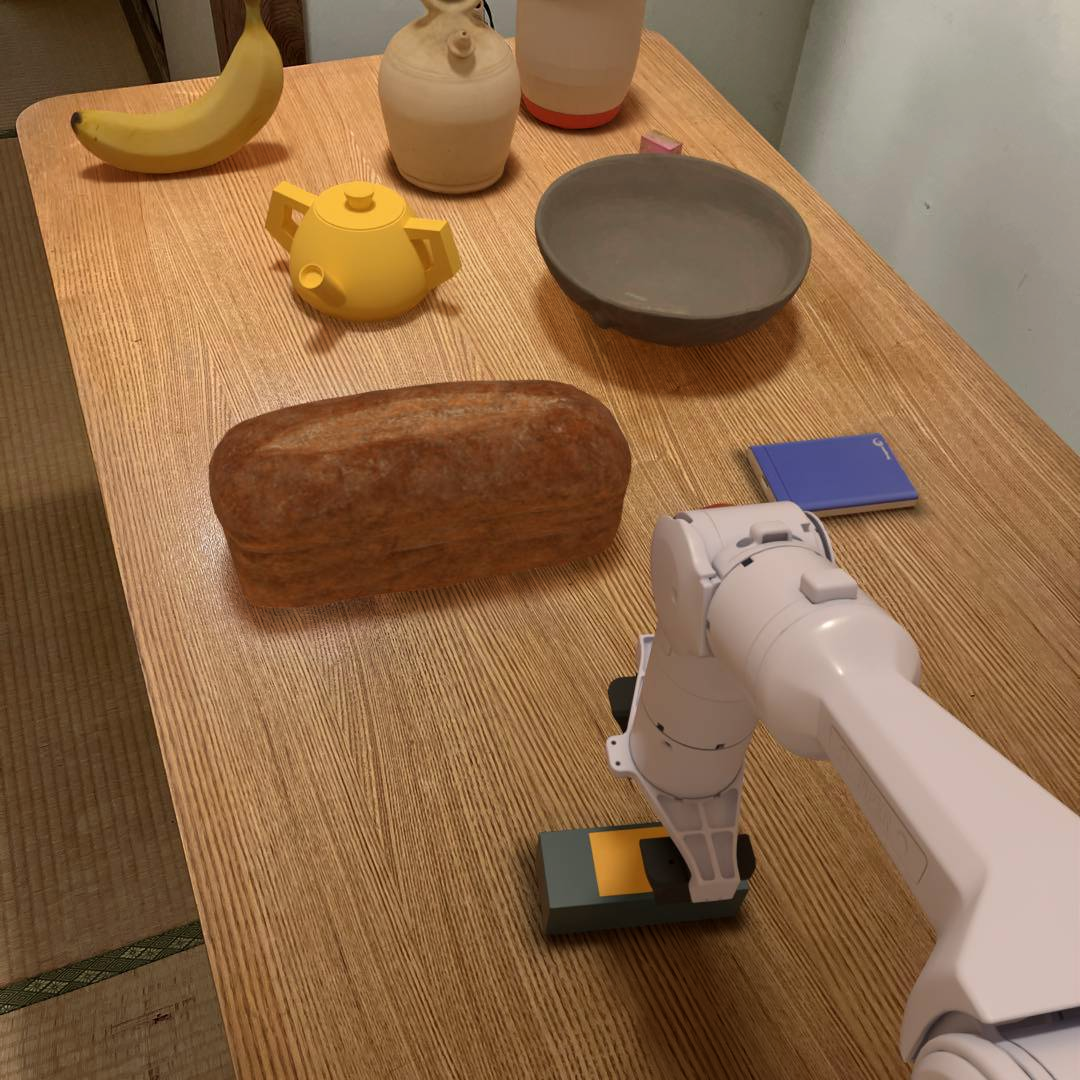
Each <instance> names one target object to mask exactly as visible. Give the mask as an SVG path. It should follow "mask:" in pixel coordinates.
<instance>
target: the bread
mask: <svg viewBox="0 0 1080 1080" xmlns="http://www.w3.org/2000/svg"><path fill="white" fill-rule="evenodd" d="M631 472H632V452H631V449H630V445H629V441H628V440H627V438H626V436H625V434H624V432H623V431H622V428H621V427H620V426H619V424H618V422H617V420H616V418H615V416H614V415H613V413H612V411H611V410H610V409H609V408H608V407H607V406H606V405H605V404H604V403H603V402H602V401H601V400H600V399H599V398H597V397H595V396H593V395H592V394H590V393H588V392H586V391H584V390H582V389H581V388H579V387H576V386H574V385H573V384H571V383H565V382H559V381H557V380H556V381H555V380H551V379H506V380H505V379H503V380H502V379H500V380H498V379H497V380H496V379H495V380H493V379H492V380H491V379H490V380H488V379H487V380H486V379H485V380H457V381H456V380H455V381H454V380H453V381H442V382H433V383H432V382H431V383H424V384H415V385H409V386H402V387H396V388H386V389H385V388H384V389H378V390H377V389H376V390H370V391H365V392H360V393H359V392H358V393H355V394H349V395H344V396H343V395H342V396H337V397H329V398H324V399H319V400H313V401H308V402H304V403H299V404H294V405H290V406H284V407H281V408H278V409H275V410H271V411H269V412H265V413H261V414H258V415H255V416H253V417H250V418H248V419H245V420H241V421H240V422H238V423H237V424H235V425H233V426H232V427H230V428H229V429H227V431H226V432H225V434H224V435H223V437H222V438H221V439H220V441H219V442H218V443H217V445H216V446H215V448H214V449H213V452H212V455H211V458H210V460H209V463H208V487H209V488H208V489H209V490H208V491H209V497H210V501H211V505H212V508H213V512H214V515H215V517H216V519H217V521H218V523H219V524H220V526H221V528H222V531H223V534H224V538H225V541H226V544H227V548H228V551H229V554H230V557H231V560H232V564H233V567H234V570H235V574H236V577H237V580H238V583H239V587H240V589H241V592H242V594H243V596H244V597H245V598H246V599H247V600H248V601H249V602H250V603H251V604H252V605H253V606H254V607H261V608H270V609H300V608H301V609H302V608H308V607H317V606H324V605H329V604H333V603H338V602H345V601H350V600H356V599H362V598H369V597H370V598H371V597H376V596H381V595H382V596H383V595H389V594H390V595H391V594H396V593H397V594H398V593H405V592H415V591H416V592H417V591H426V590H433V589H441V588H447V587H451V586H452V587H453V586H455V585H459V584H464V583H468V582H471V581H476V580H480V579H485V578H490V577H496V576H500V575H501V576H502V575H506V574H512V573H517V572H523V571H530V570H531V571H532V570H538V569H545V568H552V567H560V566H563V565H568V564H571V563H575V562H578V561H582V560H586V559H589V558H592V557H595V556H598V555H601V554H602V553H604V552H605V551H608V550H609V549H610V548H612V546H613V543H614V541H615V539H616V536H617V534H618V530H619V527H620V525H621V521H622V518H623V517H622V516H623V510H624V501H625V497H626V494H627V491H628V486H629V484H630V483H629V482H630V477H631Z"/></svg>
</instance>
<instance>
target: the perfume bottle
mask: <svg viewBox="0 0 1080 1080" xmlns="http://www.w3.org/2000/svg"><path fill="white" fill-rule="evenodd" d="M683 145H684V142H681V141H680V140H678V139H676V138H674V137H671V136H669V135H667V134H665V133H663V132H660V131H659V130H658V129H652V130H650V131H648V132H646V133H644V134H642V135H641V136H640V142H639V149H638V153H670V154H680V155H682V151H683Z"/></svg>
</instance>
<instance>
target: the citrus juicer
mask: <svg viewBox="0 0 1080 1080" xmlns="http://www.w3.org/2000/svg"><path fill="white" fill-rule="evenodd" d="M646 6H647V0H516V11H515V12H516V13H515V14H516V15H515V32H514V33H515V35H514V55H515V56H514V58H515V60H516V63H517V67H518V71H519V76H520V86H521V97H522V99H523V102H524V104H525V107H526V109H527V111H528V112H529V113H530V114H531V115H532V116H533V117H534V118H536V119H538V120H539V121H542V122H544V123H546V124H549V125H552V126H556V127H559V128H561V129H563V130H572V129H590V128H591V129H592V128H596V127H600V126H604V125H605V124H607V123H609V122H611V121H612V120H613V119H614V118H616V116H617V114H618V113H619V112H620V109H621V107H622V105H623V104H624V101H626V96H627V93H628V90H629V88H630V86H631V84H632V83H633V82H632V81H633V78H634V74H635V72H636V69H637V64H638V61H639V60H638V59H639V56H640V55H639V54H640V49H641V41H642V34H643V29H644V21H645V13H646Z"/></svg>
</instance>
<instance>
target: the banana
mask: <svg viewBox="0 0 1080 1080" xmlns="http://www.w3.org/2000/svg"><path fill="white" fill-rule="evenodd" d="M243 2H244V5H245V13H246V15H245V16H246V17H245V23H244V29H243V32H242V34H241V36H240V37H239V39H238V41H237V43H236V44H235V46H234V48H233V51H232V52H231V54H230V56H229V59H228V61H227V62H226V65H225V67H224V68H223V70H222V72H221V73H220V75H219V77H218V78H217V79H216V80H215V82H214V83H213V84H212V85H211V86H210V87H209V89H207V90H206V91H205V92H204V93H203V94H201V96H199V97H198V98H197V99H196V100H194V101H192V102H190V103H188V104H185V105H182V106H181V107H178V108H176V109H175V108H174V109H171V110H167V111H162V112H153V113H152V112H151V113H132V112H125V111H118V110H117V111H116V110H103V109H79V110H77V111H74V112H73V113H72V115H71V117H70V120H69V121H70V122H69V123H70V127H71V129H72V131H73V133H74V135H75V137H76V138H77V140H78V141H79V143H80V144H81V145H82V146H83V147H84V148H85V150H87V151H88V152H89V153H91V155H93V156H94V157H96V158H98V159H99V160H101V161H102V162H104V163H106V164H108V165H110V166H113V167H115V168H119V169H123V170H126V171H131V172H135V173H141V174H142V173H144V174H172V173H184V172H188V171H193V170H198V169H202V168H206V167H209V166H212V165H215V164H217V163H219V162H221V161H223V160H225V159H227V158H229V157H231V156H232V155H234V154H235V153H237V152H239V150H241V149H242V148H243V147H245V146H246V145H247V144H248V143H249V142H251V140H253V138H255V136H257V135H258V134H259V133H260V132H261V130H262V129H263V128H264V127H266V125H267V123H268V122H269V121H270V119H271V118H272V117H273V114H275V112H276V110H277V107H278V105H279V103H280V100H281V98H282V95H283V91H284V82H285V77H284V76H285V74H284V73H285V72H284V71H285V70H284V65H283V59H282V55H281V53H280V50H279V48H278V46H277V44H276V42H275V40H274V39H273V37H272V36H271V34H270V32H269V31H268V30H267V28H266V26H265V24H264V22H263V19H262V16H261V11H260V10H261V2H262V0H243Z"/></svg>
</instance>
